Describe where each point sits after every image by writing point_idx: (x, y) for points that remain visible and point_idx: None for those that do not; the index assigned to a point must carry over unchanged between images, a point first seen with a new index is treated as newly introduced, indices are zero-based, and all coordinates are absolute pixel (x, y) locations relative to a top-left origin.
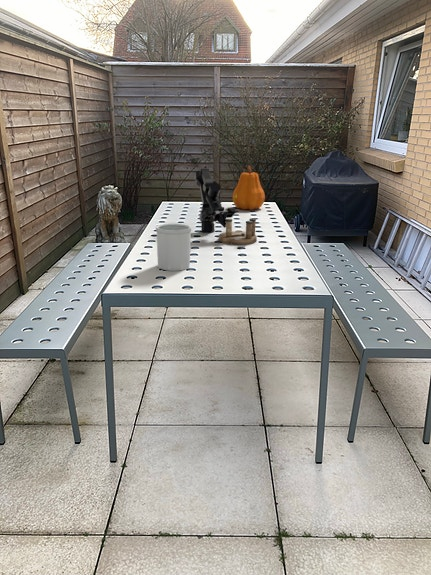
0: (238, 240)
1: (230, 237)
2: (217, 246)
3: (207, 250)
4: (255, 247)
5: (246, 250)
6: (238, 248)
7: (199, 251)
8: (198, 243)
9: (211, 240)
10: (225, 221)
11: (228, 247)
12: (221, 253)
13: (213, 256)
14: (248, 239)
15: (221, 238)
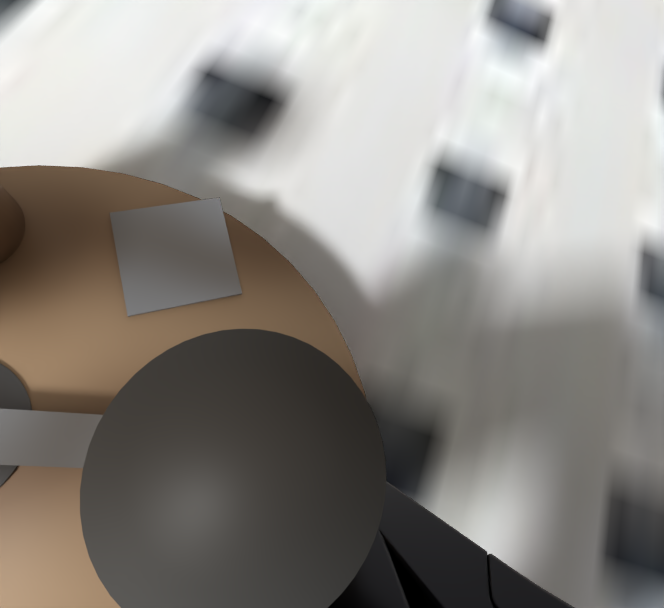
0: (192, 197)
1: None
2: (455, 255)
3: (577, 163)
4: (56, 56)
5: (224, 12)
6: (269, 102)
7: (644, 163)
8: (627, 455)
9: None
10: None
11: (356, 176)
12: (483, 38)
13: (560, 3)
14: (21, 169)
15: None
